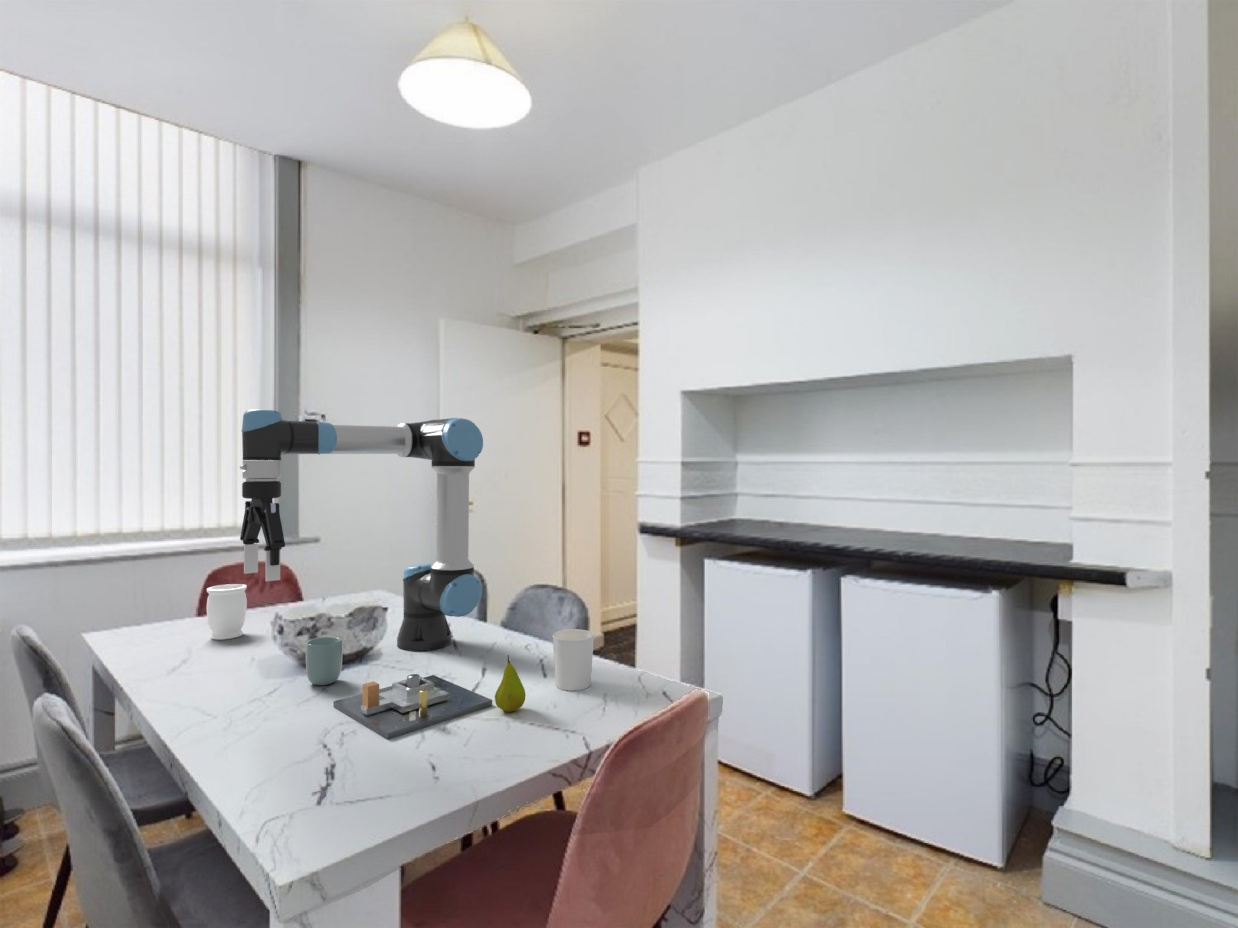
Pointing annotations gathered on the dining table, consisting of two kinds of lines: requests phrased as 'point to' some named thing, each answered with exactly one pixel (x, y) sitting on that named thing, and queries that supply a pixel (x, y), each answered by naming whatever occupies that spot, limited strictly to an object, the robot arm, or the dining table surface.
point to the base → (401, 723)
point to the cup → (323, 660)
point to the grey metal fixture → (399, 696)
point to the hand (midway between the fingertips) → (261, 576)
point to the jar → (226, 610)
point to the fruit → (510, 690)
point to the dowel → (422, 703)
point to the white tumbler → (573, 659)
